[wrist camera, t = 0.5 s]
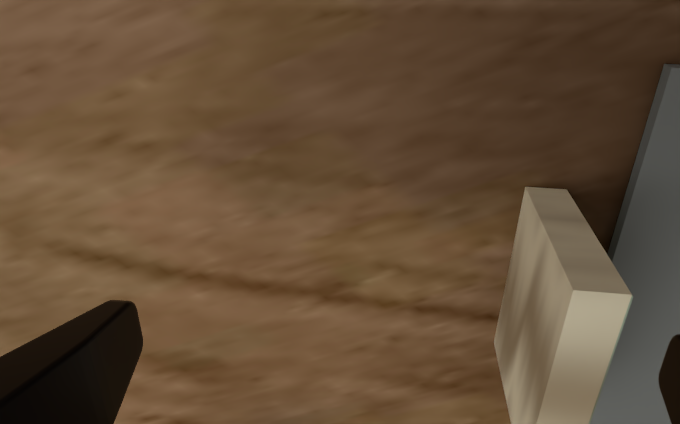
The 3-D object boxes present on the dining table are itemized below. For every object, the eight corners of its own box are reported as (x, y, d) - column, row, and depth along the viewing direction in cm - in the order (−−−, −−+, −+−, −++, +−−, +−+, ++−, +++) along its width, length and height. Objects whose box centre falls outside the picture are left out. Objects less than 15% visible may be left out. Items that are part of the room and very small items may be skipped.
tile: (532, 345, 25) (573, 481, 19) (493, 341, 25) (522, 476, 19) (570, 189, 21) (637, 295, 15) (525, 186, 21) (573, 290, 15)
